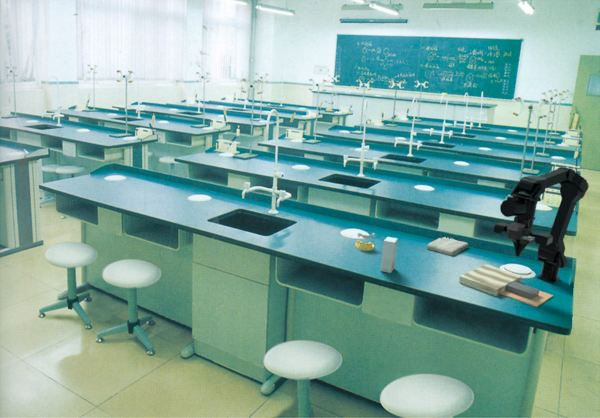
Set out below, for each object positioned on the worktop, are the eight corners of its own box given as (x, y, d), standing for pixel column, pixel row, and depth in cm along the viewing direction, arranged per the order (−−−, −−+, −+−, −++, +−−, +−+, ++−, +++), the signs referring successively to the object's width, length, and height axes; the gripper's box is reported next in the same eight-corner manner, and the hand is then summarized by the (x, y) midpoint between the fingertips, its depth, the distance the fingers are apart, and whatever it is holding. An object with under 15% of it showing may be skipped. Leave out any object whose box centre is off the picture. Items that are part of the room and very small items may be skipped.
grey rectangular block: (512, 286, 178) (513, 281, 178) (538, 295, 172) (539, 289, 171) (505, 290, 174) (506, 285, 174) (531, 299, 168) (532, 294, 167)
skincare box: (391, 273, 184) (394, 242, 181) (379, 271, 185) (383, 240, 182) (394, 268, 189) (398, 238, 186) (383, 265, 191) (386, 236, 188)
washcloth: (468, 248, 220) (469, 241, 219) (452, 257, 206) (453, 250, 205) (443, 241, 227) (444, 234, 226) (425, 250, 213) (426, 243, 212)
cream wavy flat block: (485, 270, 193) (486, 264, 192) (520, 282, 183) (522, 276, 183) (458, 282, 180) (459, 276, 179) (495, 296, 170) (497, 289, 169)
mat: (517, 284, 181) (517, 283, 181) (552, 296, 173) (553, 295, 173) (499, 293, 172) (500, 292, 172) (536, 307, 163) (536, 306, 163)
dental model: (373, 246, 213) (375, 231, 211) (374, 251, 206) (376, 236, 204) (355, 244, 214) (356, 229, 212) (355, 249, 207) (356, 234, 205)
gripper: (489, 211, 172) (482, 253, 176) (545, 224, 159) (536, 270, 164) (502, 206, 180) (496, 247, 184) (557, 219, 167) (548, 262, 171)
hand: (517, 256), depth 175 cm, fingers closed
